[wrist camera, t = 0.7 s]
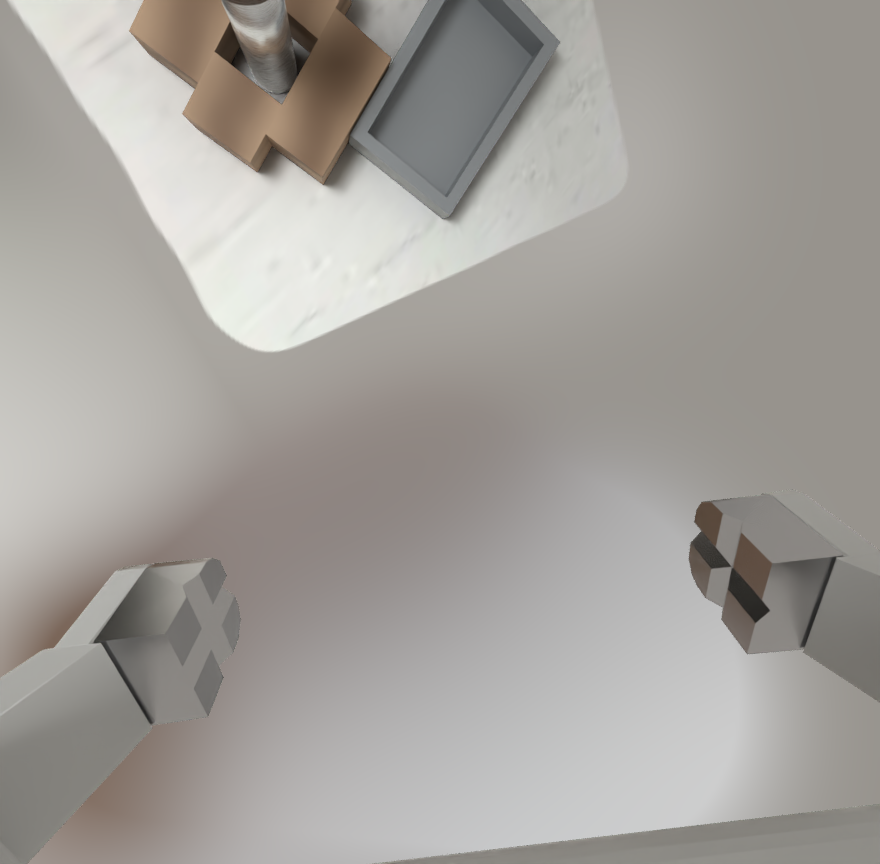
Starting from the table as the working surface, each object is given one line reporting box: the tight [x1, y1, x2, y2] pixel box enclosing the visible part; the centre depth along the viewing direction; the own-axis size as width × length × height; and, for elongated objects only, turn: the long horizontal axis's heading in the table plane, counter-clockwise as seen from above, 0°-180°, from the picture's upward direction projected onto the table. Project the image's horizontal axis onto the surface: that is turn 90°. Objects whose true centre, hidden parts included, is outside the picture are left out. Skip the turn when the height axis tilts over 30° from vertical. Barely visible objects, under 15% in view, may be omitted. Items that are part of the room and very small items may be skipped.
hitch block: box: [129, 0, 391, 185], centre depth 36 cm, size 15×15×4 cm
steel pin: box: [221, 0, 297, 94], centre depth 30 cm, size 5×5×18 cm
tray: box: [349, 0, 560, 219], centre depth 40 cm, size 10×16×3 cm, turn 145°
